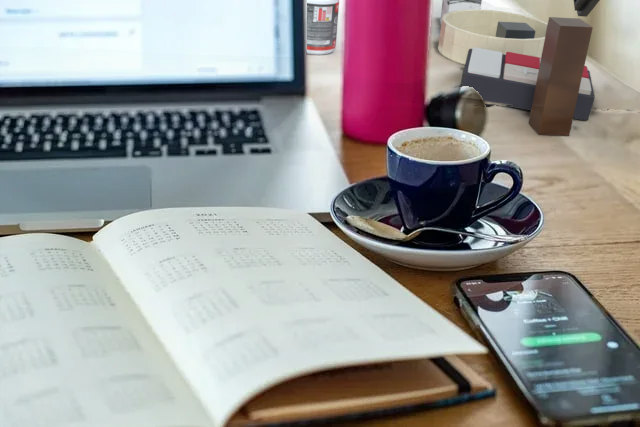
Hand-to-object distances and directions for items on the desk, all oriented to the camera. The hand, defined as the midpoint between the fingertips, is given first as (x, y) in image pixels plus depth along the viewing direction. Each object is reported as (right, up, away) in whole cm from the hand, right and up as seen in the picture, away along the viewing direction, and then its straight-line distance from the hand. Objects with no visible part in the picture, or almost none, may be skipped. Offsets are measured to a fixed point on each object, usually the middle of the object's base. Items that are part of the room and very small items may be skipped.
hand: (625, 9), depth 80 cm
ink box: (-7, +8, +51) cm, 52 cm away
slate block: (-2, +3, +40) cm, 40 cm away
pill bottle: (-28, +3, +38) cm, 48 cm away
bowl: (-4, +2, +40) cm, 40 cm away
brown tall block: (-2, -9, +18) cm, 20 cm away
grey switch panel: (-3, -5, +27) cm, 27 cm away
